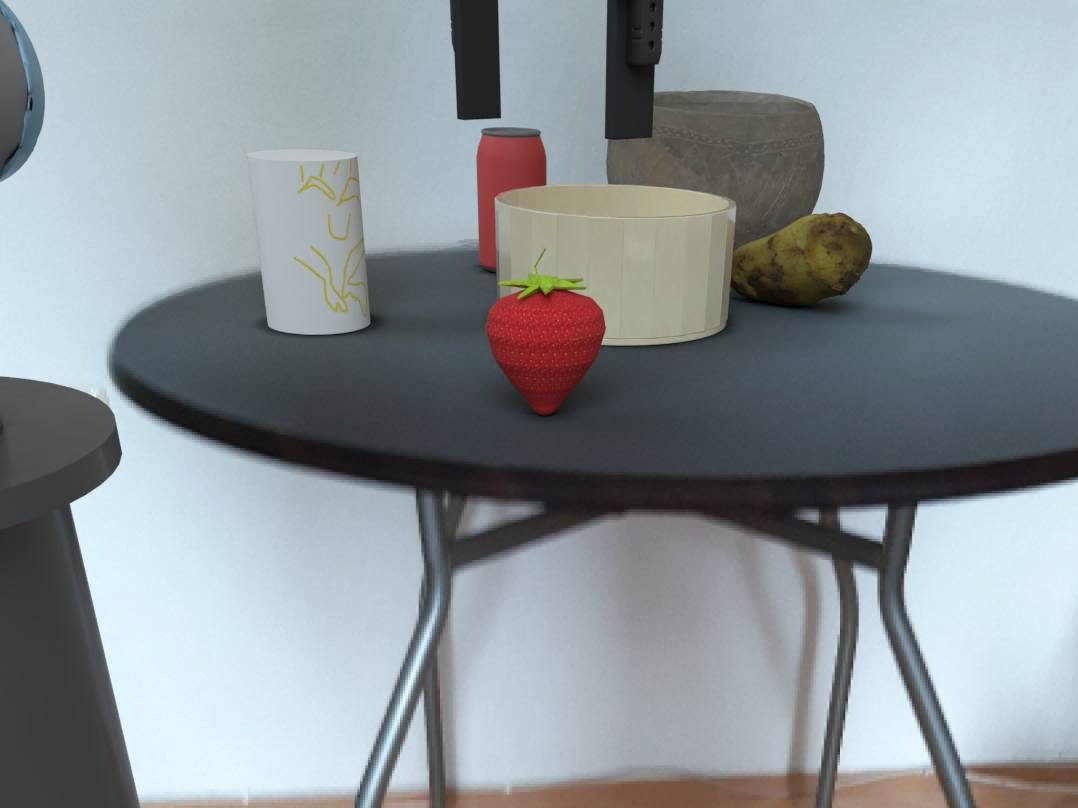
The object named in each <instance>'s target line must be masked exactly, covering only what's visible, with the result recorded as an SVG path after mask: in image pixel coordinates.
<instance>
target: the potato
mask: <svg viewBox="0 0 1078 808" xmlns="http://www.w3.org/2000/svg"><path fill="white" fill-rule="evenodd" d="M872 254H873V242H872V239H871V236H870V233H868V231H867V229H866V228H865V227H864V226H863V224H861V223H860V222H858V221H856V220H855V219H854V218H853V217H851V216H849V215H848V214H846V213H844V212H839V211H838V212H836V213H828V212H824V213H812V214H811V215H808V216H805V217H802V218H800V219H798V220H796V221H794V222H793V223H792V224H790V225H788V226H787V227H785V228H783V229H781V230H779V231H777V232H775V233H773V234H771V235H767V236H766V237H763V238H761V239H757V240H754V241H752V242H749V243H747V244H745V245H743V246H741V247H739V248H737V249H736V250H735V251H734V252H733V256H732V268H731V281H730V288H731V289H732V290H733V291H734V292H736V293H737V294H738V295H739V296H742V297H744V298H746V299H748V300H758V301H762V302H766V303H771V304H775V305H780V306H781V305H782V306H791V307H801V306H810V305H813V304H816V303H819V302H821V301H822V300H824V299H828V298H833V297H837V296H844V295H846V294H847V293H848V292H849V291H850V289H851V288H852V287H854V286H855V284H858V282H859V281H860V280H861V277H862V275H863V274H864V272H866V270H867V269H868V268H869V265H870V262H871V259H872Z"/></svg>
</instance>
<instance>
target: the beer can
mask: <svg viewBox="0 0 1078 808" xmlns="http://www.w3.org/2000/svg"><path fill="white" fill-rule="evenodd" d="M480 133H481V137H480V139H479V142H478V145H477V152H476V161H475V163H476V191H477V193H476V194H477V227H478V258H479V260H478V261H479V264H480V266H481V267H482V268H483V269H484V270H486V271H488V272H490V273H495V274H497V272H496V229H495V197H496V196H497V195H498V194H500V193H502V192H506V191H509V190H513V189H519V188H526V187H533V186H546V185H548V184H547V183H548V182H547V172H548V171H547V170H548V169H547V167H548V166H547V164H548V163H547V154H546V149H545V146H544V143H543V140H542V137H541V134H542V131H541V130H540V129H537V128H532V127H531V128H530V127H516V126H515V127H512V126H500V127H499V126H498V127H497V126H496V127H484V128H482V129H481V130H480Z"/></svg>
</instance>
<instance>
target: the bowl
mask: <svg viewBox="0 0 1078 808" xmlns="http://www.w3.org/2000/svg"><path fill="white" fill-rule="evenodd" d="M823 129H824V128H823V125H822V119H821V116H820V113H819V112H818V109H817V108H816V106H815V105H814V103H812V102H810V101H808V100H804V99H801V98H797V97H792V96H788V95H784V94H779V93H770V92H769V93H766V92H756V91H745V90H724V89H723V90H720V89H717V90H716V89H713V90H712V89H710V90H709V89H708V90H688V91H685V90H683V91H682V90H668V91H667V90H666V91H654V104H653V132H652V138H638V139H622V140H610V139H607V146H606V147H607V148H606V159H605V165H606V178H607V184H623V185H644V186H658V187H670V188H679V189H688V190H694V191H700V192H706V193H711V194H716V195H719V196H723V197H727V198H729V199H731V200H733V201H735V202H736V218H735V230H734V243H733V252H734V251H735V250H736V249H737V248H739V247H741V246H743V245H745V244H747V243H749V242H752V241H754V240H757V239H761V238H763V237H766V236H767V235H771V234H773V233H775V232H777V231H779V230H781V229H783V228H785V227H787V226H788V225H790V224H792V223H793V222H794V221H796V220H798V219H800V218H802V217H805V216H808V215H813V212H814V211H815V208H816V206H817V203H818V201H819V198H820V195H821V191H822V187H823V180H824V173H825V164H826V163H825V159H826V158H825V157H826V154H825V138H824V137H825V136H824V132H823Z"/></svg>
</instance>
